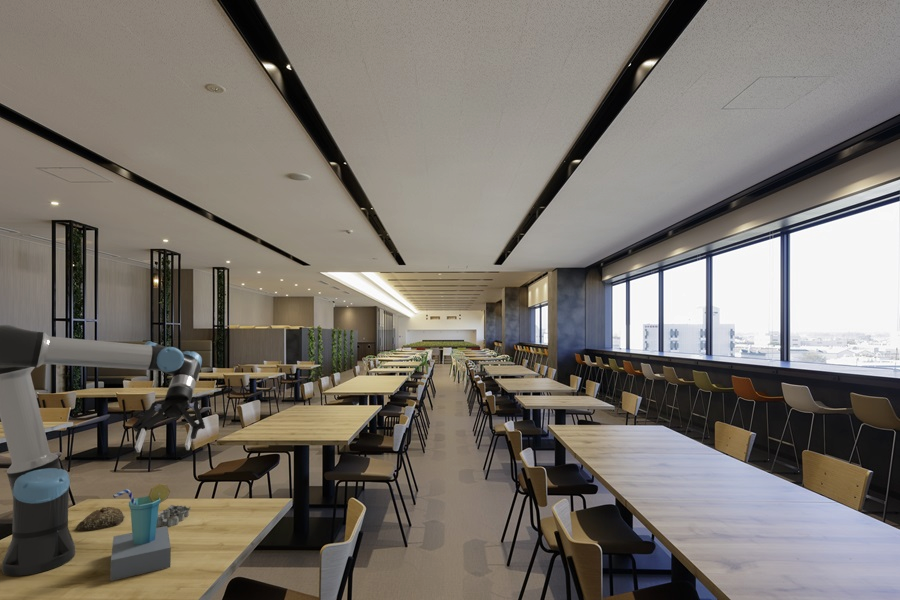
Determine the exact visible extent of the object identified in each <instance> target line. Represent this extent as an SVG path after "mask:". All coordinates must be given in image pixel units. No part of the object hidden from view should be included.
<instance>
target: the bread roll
mask: <svg viewBox="0 0 900 600" xmlns="http://www.w3.org/2000/svg"><path fill="white" fill-rule="evenodd" d="M124 519H125V516H124V514H123V512H122V511H121V509H119V508H116V507H114V506H107V507H104V506H103V507H102V508H101V509H96V510H94V511H92V512H91V513H90V514H89V515H87V516H85V517H84V519H82V520H81V521H80V522H79V523H78V524H77V526H76V529H75V530H76V531H78V532H83V531H84V532H85V531H93V530H94V531H95V530H101V529H106V528H112V527H116V526H118V525H120V524H121V523H123V522H124Z"/></svg>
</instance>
